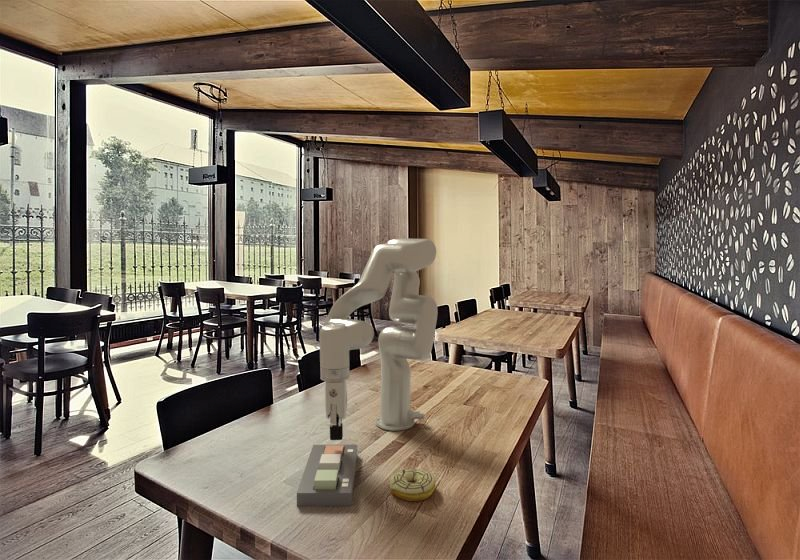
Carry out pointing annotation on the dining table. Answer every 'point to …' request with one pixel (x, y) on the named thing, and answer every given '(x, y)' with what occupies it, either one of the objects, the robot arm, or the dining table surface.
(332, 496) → the keypad
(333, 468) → the grey key
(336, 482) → the sage key
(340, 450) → the terracotta key
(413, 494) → the decorated donut
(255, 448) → the dining table surface
